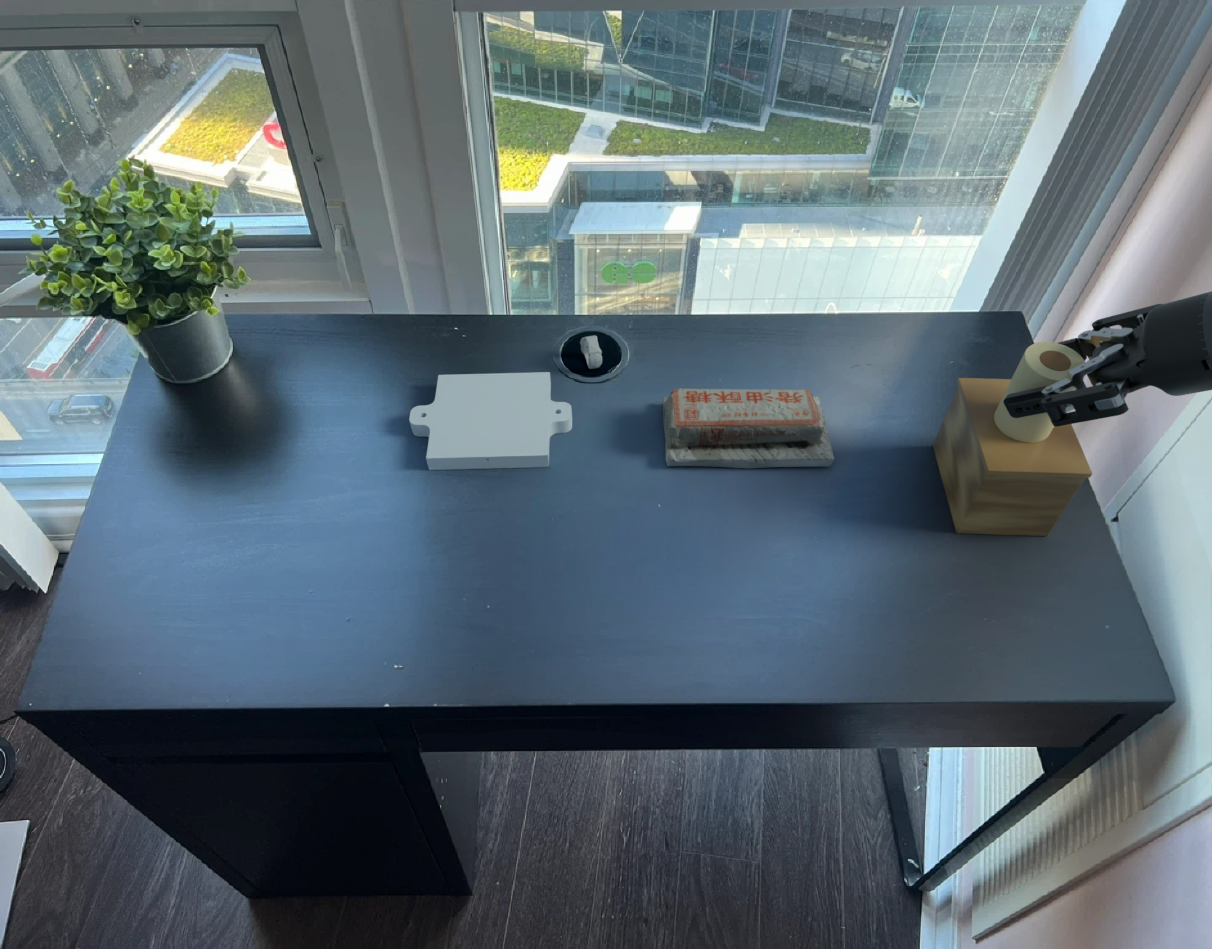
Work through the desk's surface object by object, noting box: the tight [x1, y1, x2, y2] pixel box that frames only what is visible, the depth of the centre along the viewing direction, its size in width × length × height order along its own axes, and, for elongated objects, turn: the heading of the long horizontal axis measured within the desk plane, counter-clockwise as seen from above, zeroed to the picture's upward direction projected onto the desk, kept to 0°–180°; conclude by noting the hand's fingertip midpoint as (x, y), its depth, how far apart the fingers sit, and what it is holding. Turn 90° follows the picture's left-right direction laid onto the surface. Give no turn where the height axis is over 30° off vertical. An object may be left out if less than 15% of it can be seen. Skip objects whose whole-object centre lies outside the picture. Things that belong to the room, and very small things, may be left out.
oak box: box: [932, 377, 1093, 537], centre depth 85 cm, size 12×9×10 cm
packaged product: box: [662, 387, 835, 469], centre depth 92 cm, size 18×5×10 cm
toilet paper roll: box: [994, 341, 1086, 443], centre depth 78 cm, size 5×5×8 cm
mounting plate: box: [408, 371, 573, 471], centre depth 94 cm, size 18×13×2 cm
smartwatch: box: [579, 335, 603, 370], centre depth 100 cm, size 4×2×4 cm, turn 14°
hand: (1025, 382), depth 78 cm, fingers open, 7 cm apart
